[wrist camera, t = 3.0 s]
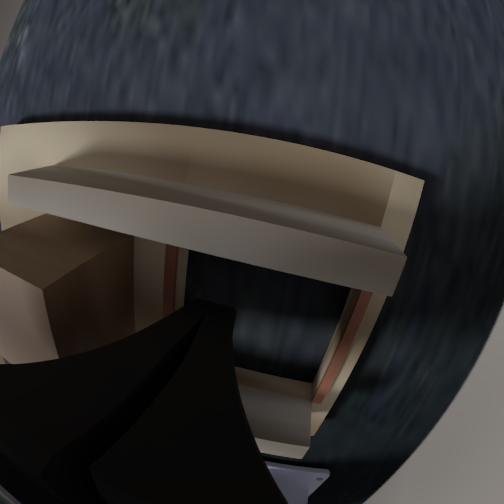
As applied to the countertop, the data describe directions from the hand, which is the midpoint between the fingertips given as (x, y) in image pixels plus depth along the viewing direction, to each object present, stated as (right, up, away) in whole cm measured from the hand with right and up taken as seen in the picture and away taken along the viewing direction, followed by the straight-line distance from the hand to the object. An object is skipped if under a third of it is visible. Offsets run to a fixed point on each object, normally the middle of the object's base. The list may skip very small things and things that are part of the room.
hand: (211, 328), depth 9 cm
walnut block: (-5, +2, +1) cm, 6 cm away
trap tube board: (-3, +1, +2) cm, 4 cm away
